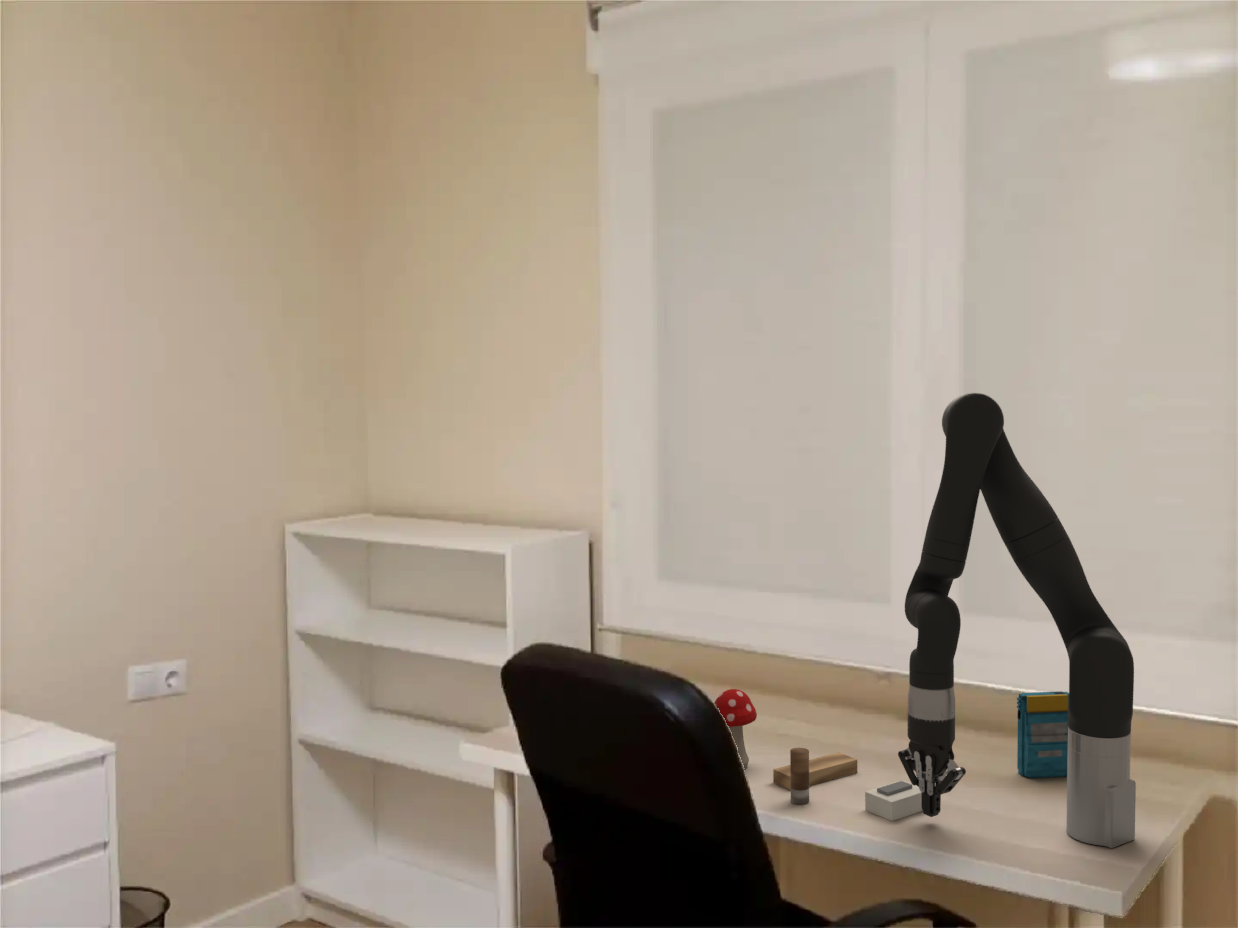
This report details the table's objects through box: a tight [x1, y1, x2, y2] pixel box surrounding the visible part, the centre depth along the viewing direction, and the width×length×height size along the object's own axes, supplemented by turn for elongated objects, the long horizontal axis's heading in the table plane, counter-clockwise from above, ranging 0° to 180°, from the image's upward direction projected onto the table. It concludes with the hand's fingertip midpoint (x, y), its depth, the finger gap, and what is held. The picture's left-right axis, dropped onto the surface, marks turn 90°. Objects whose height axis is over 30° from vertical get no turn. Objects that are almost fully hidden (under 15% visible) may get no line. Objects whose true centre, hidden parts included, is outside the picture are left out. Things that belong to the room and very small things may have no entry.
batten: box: [772, 752, 858, 791], centre depth 210 cm, size 5×16×2 cm, turn 122°
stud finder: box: [864, 779, 923, 822], centre depth 194 cm, size 6×9×4 cm, turn 124°
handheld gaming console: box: [1016, 690, 1069, 779], centre depth 208 cm, size 10×4×15 cm, turn 94°
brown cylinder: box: [789, 747, 810, 806], centre depth 198 cm, size 3×3×9 cm
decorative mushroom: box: [713, 688, 758, 770], centre depth 215 cm, size 10×9×15 cm
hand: (930, 814), depth 188 cm, fingers closed
